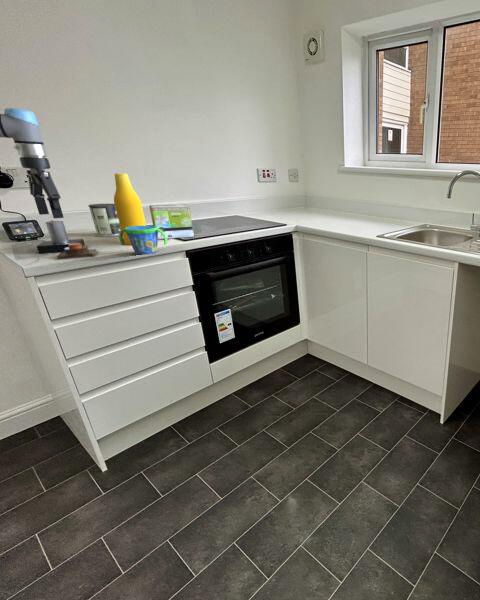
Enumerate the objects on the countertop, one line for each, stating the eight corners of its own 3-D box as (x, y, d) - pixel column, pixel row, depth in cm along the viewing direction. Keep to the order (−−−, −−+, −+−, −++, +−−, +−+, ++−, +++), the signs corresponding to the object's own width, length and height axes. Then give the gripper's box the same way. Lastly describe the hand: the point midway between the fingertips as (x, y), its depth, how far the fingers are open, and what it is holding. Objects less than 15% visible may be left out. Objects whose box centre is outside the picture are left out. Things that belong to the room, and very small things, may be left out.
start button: (68, 250, 129) (67, 245, 129) (71, 248, 132) (69, 243, 132) (81, 249, 131) (79, 244, 130) (83, 247, 134) (82, 242, 133)
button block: (57, 259, 127) (54, 251, 126) (63, 254, 133) (61, 246, 132) (92, 256, 132) (90, 248, 131) (97, 251, 138) (94, 244, 137)
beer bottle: (119, 244, 150) (100, 173, 140) (134, 240, 159) (118, 172, 148) (140, 245, 150) (123, 174, 140) (155, 241, 159) (139, 173, 148)
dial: (71, 241, 140) (65, 220, 137) (55, 244, 135) (48, 222, 132) (66, 240, 142) (59, 219, 139) (50, 242, 138) (42, 221, 135)
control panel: (38, 253, 133) (35, 245, 132) (47, 248, 141) (44, 240, 140) (79, 251, 139) (77, 243, 137) (85, 245, 147) (83, 238, 145)
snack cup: (174, 250, 145) (169, 225, 141) (161, 256, 135) (155, 229, 132) (133, 250, 143) (126, 224, 139) (117, 256, 133) (110, 229, 129)
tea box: (158, 240, 161) (150, 207, 156) (155, 236, 168) (148, 204, 163) (194, 237, 170) (189, 205, 165) (190, 233, 177) (185, 203, 172)
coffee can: (122, 231, 176) (115, 203, 171) (125, 235, 169) (117, 205, 164) (96, 233, 169) (87, 203, 164) (97, 237, 162) (88, 206, 157)
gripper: (6, 155, 130) (25, 213, 137) (32, 157, 119) (51, 220, 126) (34, 156, 136) (51, 212, 144) (61, 158, 125) (77, 218, 132)
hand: (51, 216), depth 135 cm, fingers open, 13 cm apart
